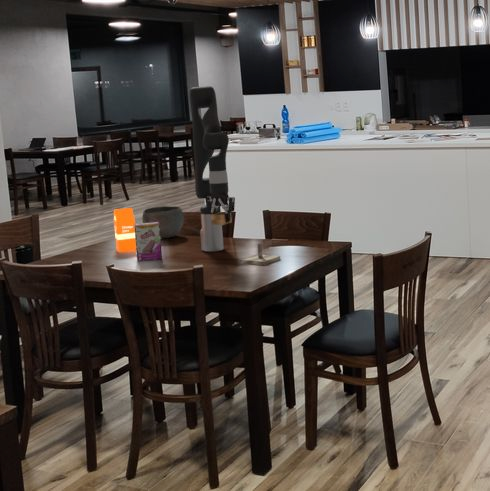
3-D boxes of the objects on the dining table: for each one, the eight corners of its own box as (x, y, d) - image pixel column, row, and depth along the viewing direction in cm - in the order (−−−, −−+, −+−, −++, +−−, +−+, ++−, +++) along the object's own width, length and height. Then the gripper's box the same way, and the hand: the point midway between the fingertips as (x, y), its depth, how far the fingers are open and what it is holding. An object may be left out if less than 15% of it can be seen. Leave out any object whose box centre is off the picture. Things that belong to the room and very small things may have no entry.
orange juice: (116, 249, 412) (112, 208, 408) (134, 247, 414) (130, 206, 410) (119, 252, 404) (115, 210, 401) (137, 250, 407) (133, 208, 403)
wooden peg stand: (240, 263, 362) (239, 244, 360) (257, 257, 371) (255, 239, 370) (264, 265, 355) (263, 246, 353) (280, 259, 364) (279, 241, 363)
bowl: (156, 233, 449) (153, 205, 446) (192, 233, 441) (190, 205, 438) (136, 241, 430) (133, 211, 427) (174, 241, 422) (171, 211, 419)
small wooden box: (211, 224, 355) (210, 214, 355) (220, 221, 360) (219, 212, 359) (223, 224, 352) (222, 215, 351) (231, 222, 357) (231, 212, 356)
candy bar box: (137, 262, 379) (134, 225, 376) (137, 260, 384) (133, 223, 381) (162, 259, 381) (159, 223, 378) (162, 257, 386) (158, 221, 383)
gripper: (199, 182, 354) (202, 222, 357) (227, 183, 346) (230, 224, 349) (210, 179, 360) (213, 219, 363) (238, 180, 351) (240, 221, 355)
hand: (221, 221), depth 356 cm, fingers closed on small wooden box, 6 cm apart
